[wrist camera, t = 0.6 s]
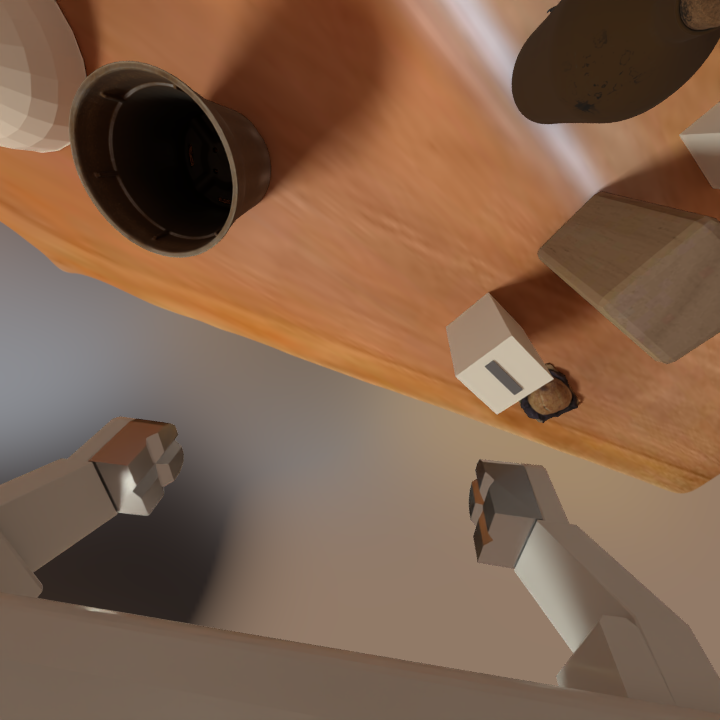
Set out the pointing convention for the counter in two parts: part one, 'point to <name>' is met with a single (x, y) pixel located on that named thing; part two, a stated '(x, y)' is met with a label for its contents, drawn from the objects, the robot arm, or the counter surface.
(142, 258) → the counter surface
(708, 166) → the marked block two
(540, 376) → the marked block one
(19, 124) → the kettle
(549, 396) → the bread roll
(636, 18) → the olive oil
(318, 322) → the counter surface
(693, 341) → the block
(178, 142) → the plant pot
